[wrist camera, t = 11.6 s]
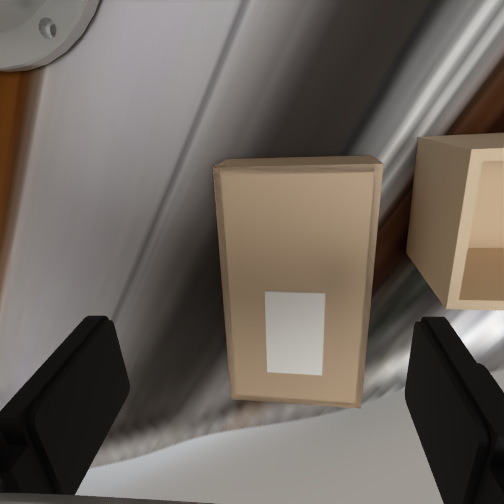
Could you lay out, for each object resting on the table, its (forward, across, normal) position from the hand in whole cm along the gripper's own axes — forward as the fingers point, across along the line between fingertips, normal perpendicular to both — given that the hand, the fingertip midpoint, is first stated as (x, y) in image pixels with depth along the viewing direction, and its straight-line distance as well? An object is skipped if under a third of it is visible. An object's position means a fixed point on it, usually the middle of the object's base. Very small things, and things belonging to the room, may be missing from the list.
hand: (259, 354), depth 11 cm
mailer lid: (+10, -1, +2) cm, 10 cm away
